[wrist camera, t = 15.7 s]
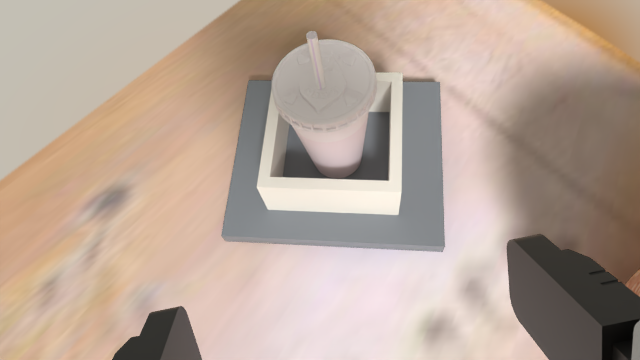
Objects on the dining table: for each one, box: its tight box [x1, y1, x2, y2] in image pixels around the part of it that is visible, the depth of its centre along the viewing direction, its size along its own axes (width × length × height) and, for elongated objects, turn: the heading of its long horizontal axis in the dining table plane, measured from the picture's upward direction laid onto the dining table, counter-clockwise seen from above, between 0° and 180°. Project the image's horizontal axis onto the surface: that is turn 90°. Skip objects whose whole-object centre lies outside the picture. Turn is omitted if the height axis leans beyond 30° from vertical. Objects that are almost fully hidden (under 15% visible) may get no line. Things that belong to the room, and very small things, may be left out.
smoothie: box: [272, 31, 377, 178], centre depth 31 cm, size 6×6×14 cm
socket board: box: [221, 72, 445, 252], centre depth 37 cm, size 16×14×5 cm
